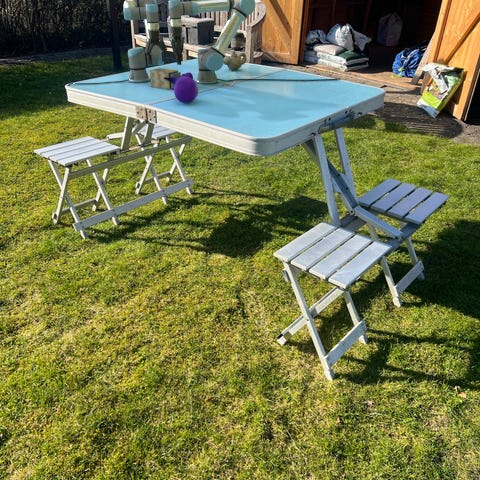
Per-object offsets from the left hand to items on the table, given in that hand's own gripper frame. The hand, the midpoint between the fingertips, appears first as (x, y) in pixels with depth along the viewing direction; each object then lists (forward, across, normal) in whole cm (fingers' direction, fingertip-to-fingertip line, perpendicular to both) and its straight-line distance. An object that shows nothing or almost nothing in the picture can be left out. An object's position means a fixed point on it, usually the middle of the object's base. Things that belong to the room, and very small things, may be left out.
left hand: (157, 63), depth 315 cm
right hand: (0, 0, -20) cm, 20 cm away
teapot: (+15, +77, -12) cm, 80 cm away
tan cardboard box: (+16, 0, -5) cm, 17 cm away
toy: (+16, -26, -45) cm, 54 cm away
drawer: (+15, 0, -11) cm, 19 cm away
